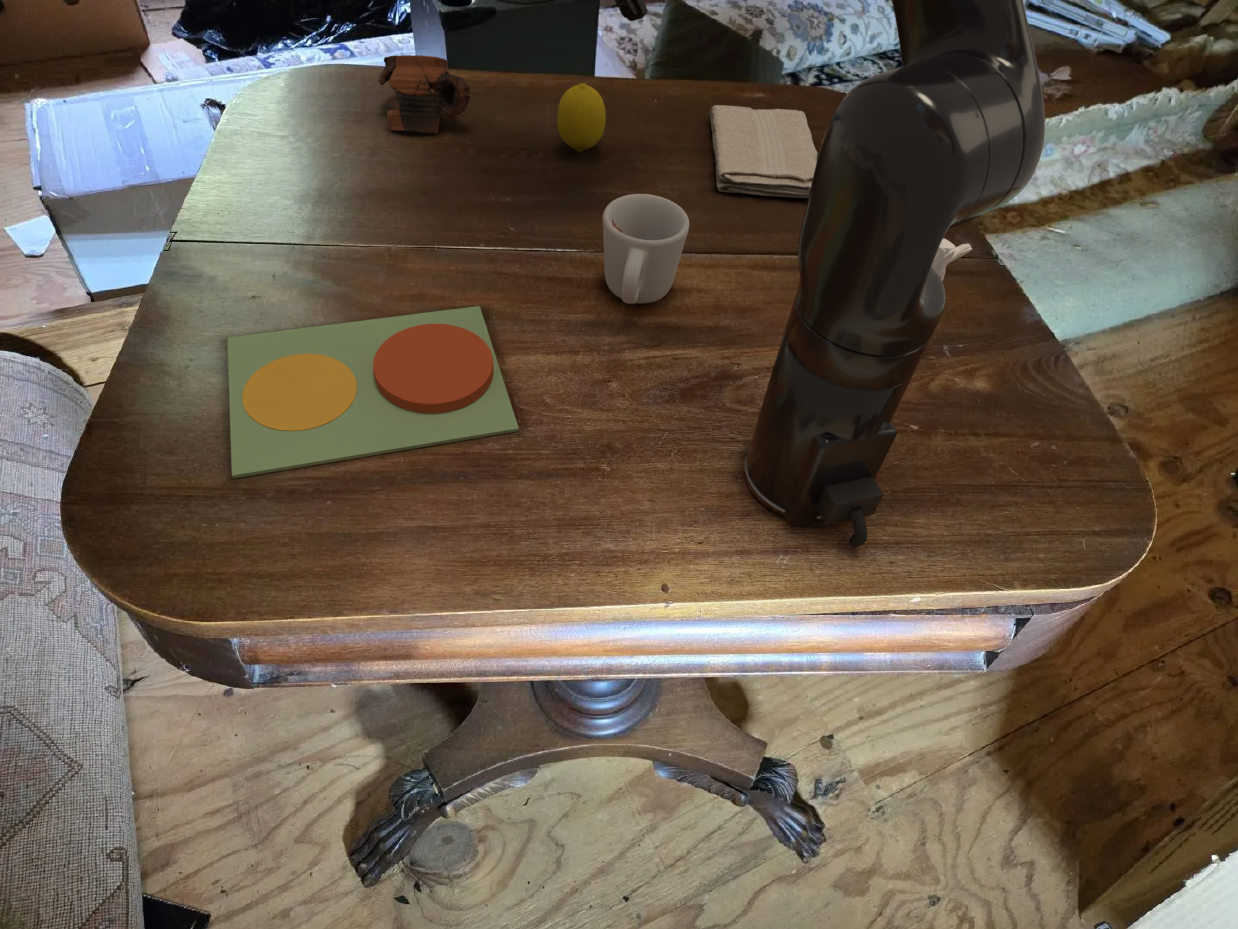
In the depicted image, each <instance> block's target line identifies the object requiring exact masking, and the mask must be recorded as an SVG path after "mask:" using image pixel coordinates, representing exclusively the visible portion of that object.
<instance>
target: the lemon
mask: <svg viewBox="0 0 1238 929" xmlns="http://www.w3.org/2000/svg"><path fill="white" fill-rule="evenodd" d="M606 114H607V112H606V107H605V103H604V100H603V97H602V96H601V95H600V93H599V92H598V91H597V90H596V89H595V88H593V87H592V86H590V85H587V84H586V83H585V82H581V83H579V84H577V85H576V84H575V85H574V86H573V85H572V86H571V87H570V88H568V89H567V90H566V91H565V92H564V93H563V95H562V96H561V98H560V101H559V103H558V107H557V113H556V125H557V130H558V134H559V136H560V138H561V139H562V141H563V142H564V143H565V144H566V145H567V146H569V147H570V148H572V149H574V150H575V151H576V152H577V153H582V152H583V151H585V150H588V149H590V148H592V147H594V146H595V145H596V144H598V143H599V141H600V140H601V139H602V137H603V135H604V132H605V128H606V121H607V115H606Z"/></svg>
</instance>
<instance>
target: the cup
mask: <svg viewBox="0 0 1238 929" xmlns="http://www.w3.org/2000/svg"><path fill="white" fill-rule="evenodd" d="M689 230H690V219H689V216H688V215H687V213H686V211H685V209H683V208H682V207H681V206H680V205H679V204H677V203H676V202H674V201H672V200H670V199H668V198H666V197H662V196H658V195H656V194H655V195H654V194H647V193H632V194H626V195H622V196H619V197H617V198H616V199H613V200H612V201H611V202H609V203H608V204H607V205H606V207H605V208H604V211H603V214H602V240H603V243H602V244H603V272H604V279H605V283H606V285H607V287H608V289H609V290H610V291H611V293H612V294H614V295H615V297H618V298H619V299H621V301H622V302H623V303H626V304H628V305H635V304H651V303H654V302H657V301H659V300H661V299H662V298H664V297H665V296H666V295H667V294H668V293H669V291H670V290H671V288H672V286H673V283H674V280H675V279H676V274H677V271H678V268H679V264H680V261H681V257H682V254H683V250H684V247H685V243H686V240H687V236H688V235H689Z"/></svg>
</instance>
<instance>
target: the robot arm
mask: <svg viewBox="0 0 1238 929" xmlns="http://www.w3.org/2000/svg"><path fill="white" fill-rule="evenodd" d="M614 2H615V3H616V6H617V8H618V10H619V12H620V14H621V16H622V17H624V19H627V20H628V21H629V22H634V21H638V20H642V19H643V18H644V17H645V16H647V14H648V12H649V11H648V8H647V5H646V3H645V0H614ZM891 3H892V9H893V14H894V19H895V24H896V29H897V37H898V41H899V42H898V43H899V51H900V61H901V66H899V67H897V68H893V69H890V70H886V71H884V72H880V73H877V74H875V75H872V76H870V77H867V78H866V79H864V80H862V81H861V82H858V83H857V84H856V85H855V86H854V87H852V88H851V89H850V90H849V91H848V92H847V94H846V95H845V96H844V97H843V98H842V100H841V101H840V102H839V104H838V106H837V107H836V109H835V110H834V113H833V114H832V116H831V119H830V121H829V123H828V126H827V128H826V131H825V132H824V136H823V138H822V142H821V145H820V149H819V152H818V155H817V163H816V167H815V172H814V176H813V180H812V185H811V189H810V193H809V198H807V203H806V207H805V211H804V216H803V219H802V223H801V228H800V233H799V239H798V244H797V263H798V270H799V271H798V272H799V283H798V286H797V290H796V292H795V296H794V298H793V302H792V306H791V309H790V312H789V315H788V319H787V322H786V325H785V327H784V331H783V334H782V338H781V341H780V344H779V348H778V351H777V355H776V358H775V361H774V363H773V367H772V370H771V374H770V377H769V381H768V385H767V387H766V391H765V394H764V397H763V400H762V404H761V406H760V409H759V413H758V417H757V420H756V423H755V427H754V430H753V434H752V437H751V441H750V444H749V446H748V448H747V450H746V453H745V456H744V459H743V465H742V470H743V472H742V473H743V478H744V480H745V483H746V485H747V487H748V488H749V490H750V492H751V493H752V495H753V496H754V497H755V498H756V499H757V500H758V501H759V502H760V503H761V504H762V505H764V507H766V508H768V509H769V510H770V511H773V512H774V513H775V514H779V515H780V516H782V517H783V519H784V520H785V521H786V523H787V525H788V526H789V527H792V528H795V527H799V526H803V525H809V524H815V523H817V522H818V523H819V522H823V523H824V525H826V526H827V525H832V524H837V523H842V522H847V521H851V525H852V528H853V535H851V536H850V537H849V538H848V539H847V540H848V541H847V542H848V543H847V544H848V545H849V546H850V548H852V549H858V548H860V547H862V546H863V544H865V543H866V542H867V541H868V527H867V522H866V519H865V517H869V516H873V515H875V513H876V510H878V508H879V505H880V503H881V501H882V499H883V497H884V495H885V493H884V492H883V490H882V489H881V487H880V486H879V484H878V483H877V481H876V478H877V476H878V474H879V472H880V471H881V468H882V465H883V464H884V461H885V459H886V457H887V456H888V453H889V452H890V450H891V448H892V445H893V443H894V442H895V440H896V438H897V435H898V431H897V428H896V426H894V424H893V422H892V420H893V419H894V416H895V414H896V412H897V410H898V407H899V406H900V403H901V401H902V399H903V397H904V395H905V393H906V391H907V389H908V387H909V385H910V382H911V380H912V378H913V376H914V374H915V372H916V370H917V368H918V366H919V364H920V362H921V359H922V357H923V355H924V354H925V352H926V349H927V347H928V346H929V344H930V341H931V339H932V337H933V334H934V333H935V330H936V328H937V327H938V324H939V322H940V320H941V318H942V315H943V313H944V311H945V306H946V301H947V300H946V299H947V295H946V294H947V293H946V289H945V286H944V282H943V281H942V280H941V278H940V277H939V275H938V274H937V272H936V271H935V270H934V269H933V268H932V267H931V266H932V263H933V261H934V258H935V256H936V253H937V251H938V248H939V246H940V244H941V242H942V240H943V239H945V237H946V236H945V235H946V233H947V232H948V231H951V230H952V229H954V228H957V227H959V226H962V225H963V224H967V223H968V222H971V221H974V220H975V219H978V218H980V217H982V216H984V215H987V214H988V213H990V212H992V211H994V210H996V209H998V208H1000V207H1003V206H1004V205H1006V204H1007V203H1009V202H1010V201H1012V200H1013V199H1014V198H1015V197H1016V196H1018V195H1019V194H1020V193H1021V192H1022V191H1023V190H1024V189H1025V188H1026V186H1027V185H1028V183H1029V182H1030V181H1031V179H1032V177H1033V175H1034V174H1035V171H1036V170H1037V167H1038V165H1039V162H1040V160H1041V156H1042V152H1043V148H1044V143H1045V134H1046V133H1045V132H1046V112H1045V110H1046V109H1045V100H1044V93H1043V87H1042V82H1041V77H1040V71H1039V67H1038V66H1039V65H1038V61H1037V57H1036V53H1035V48H1034V44H1033V39H1032V35H1031V30H1030V26H1029V22H1028V17H1027V12H1026V7H1025V4H1024V0H891Z"/></svg>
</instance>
